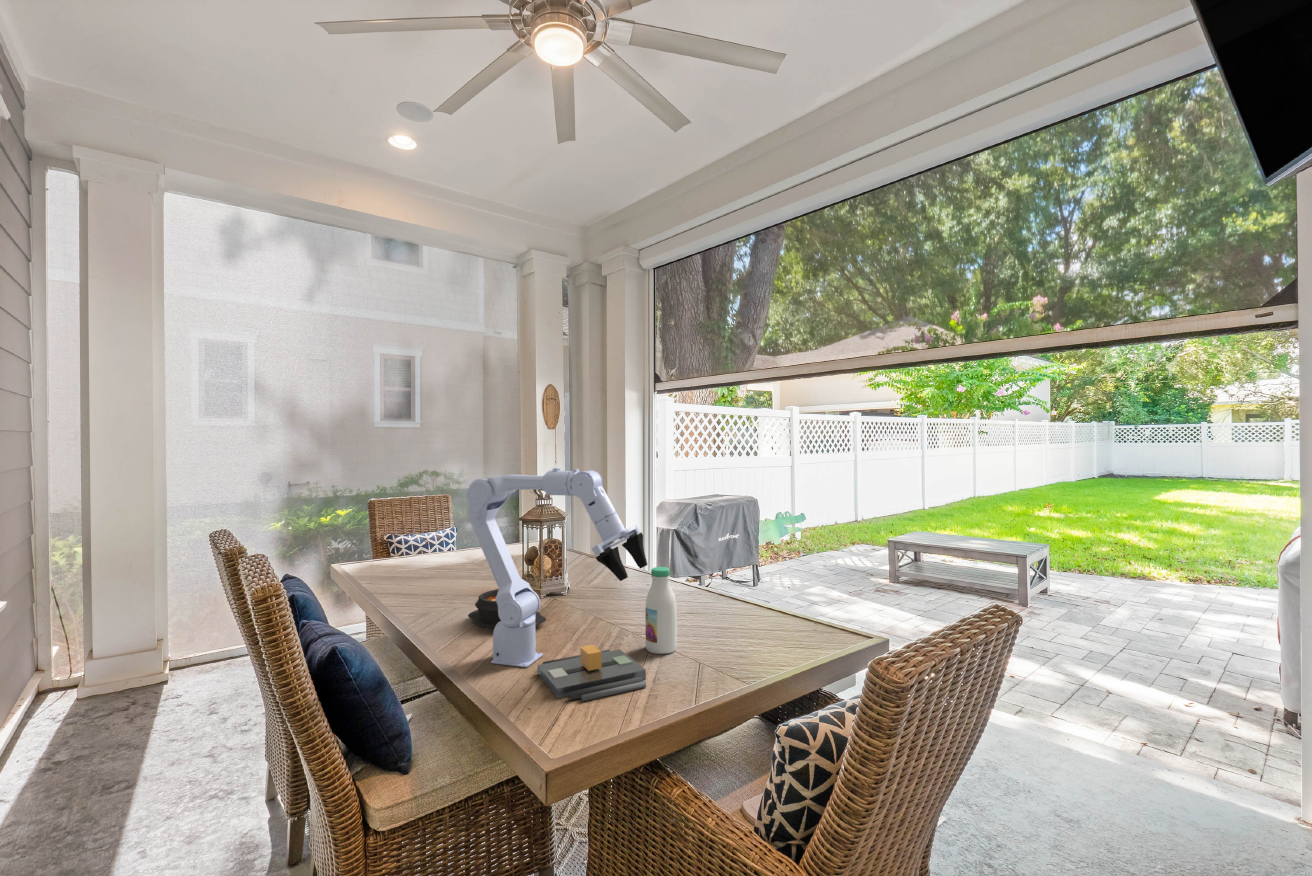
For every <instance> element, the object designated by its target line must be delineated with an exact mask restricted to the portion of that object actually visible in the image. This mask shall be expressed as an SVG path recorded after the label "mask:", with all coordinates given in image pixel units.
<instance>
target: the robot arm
mask: <svg viewBox="0 0 1312 876" xmlns="http://www.w3.org/2000/svg"><path fill="white" fill-rule="evenodd" d="M603 484H604V480H603V477H602V475H601V474H600V472H599V471H596V470H592V469H585V470H584V471H583V470H582V471H580V469H579V468H573V469H572V470H561V468H560V467H554V468H552V470H548V471H547V472H546V473H545V474H544V475H534V474H533V475H531V474H516V473H515V474H514V473H513V474H505V475H504V474H503V475H499V476H493V477H487V478H477V479H475V480H473V481H472V482H471V483H470V485H469V486H468V488H467V490H466V493H465V497H466V500H467V502H468V505H469V506H468V507H469V508H468V509H469V513H468V514H469V521H470V525H471V527H472V529H473V531H474V534H475V537H476V538H477V541H478V543H479V545H480V548H481V550H482V552H483V555H484V556H485V559H486V562H487V565H488V566H489V568H490V571H491V573H492V576H493V578H494V580H495V583H496V585H497V587H498V588H497V589H499V590H498V593H497V596H496V602H497V605H498V615H499V618H500V620H501V621H500V622H498V623H497V625H496V626H495V629H493V632H492V655H493V656H492V660H491V664H495V665H503V666H511V667H520V668H528V667H529V666H531V665H533V663H534V662H536V661H537V660H539V659H540V658H542V657H543V656H544V653H543V652H537V651H536V647H537V646H536V645H537V644H536V643H537V642H536V640H537V639H536V626H535V618H536V613H537V612H539V611H540V608H541V600H540V596H539V595H538V594H537V592H536V591H534V590H533V588H532V587H531V584H530V583H529V582H527V581H526V580H524V579H523V578H521V576H520V574H519V571H518V568H517V567H516V563H515V561H514V560H513V558H512V555H511V552H510V551H509V548H508V546H507V544H506V541H505V539H504V537H503V534H502V532H501V530H500V527H499V525H498V523H497V521H496V517H497V515H498V514H499V513H498V512H499V510H500V509H501V508H502V506H503V505H504V504H505V503H506V501H507V500H509V498H510V496H511V494H513V493H514V494H515V492H516V491H518V490H519V491H520V490H524V491H525V490H526V491H527V490H542V491H544V493H545V494H547V495H548V496H564V497H565V496H566V497H567V496H568V497H569V496H571V497H573V496H574V497H577V498H579V499H580V501H581V502H582V504H583V506H584V508H585V510H586V512H587V513H588V516H589V518H590V520H591V521H592V524H593V525H594V527H595V529H596V531H597V533H598V535H599V537H600V539H601V540H602V542H600V543H598V544H596V545H594V546H593V547H592V548H591V550H592V552H593V554H594V556H595V559H596V561H597V562H598V563H600V564H602V565H604V567H606V568H607V569H608V570H610V572H611V573H612V574H613V575H614V576H615V577H616V579H618V580H619V582H622V581H623V580H625V579H627V578H629V577H628V573H627V571H626V568H625V566H624V564H623V562H622V560H621V559H622V558H621V556H620V552H619V551H620V550H619V547H618V545H619V544H620V543H622V544H621V546H622V547H623V548H624V549H625V550H626V551H627V553H629V555H630V556H631V557H632V560H633V561H634V562H635V564H636V566H637V567H638V569H642V568H644V567H646V566H648V562H647V558H646V553H645V546H644V533H642V531H640V530H639V527H638V526H637V524H635V525H633V526H632V527H628V528H625V526H624V524H623V522H622V521H621V519H620V517H619V516H620V515H618V513H617V511H616V509H615V507H614V505H613V503H612V501H611V499H610V498H609V496H608V494H607V493H606V490H605V489H604V487H603V486H604V485H603ZM617 540H618V541H617ZM615 541H616V542H615ZM624 541H625V542H624ZM623 542H624V543H623ZM615 546H616V547H615Z"/></svg>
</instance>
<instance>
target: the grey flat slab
mask: <svg viewBox="0 0 1312 876" xmlns="http://www.w3.org/2000/svg"><path fill="white" fill-rule="evenodd" d="M601 665H602V668H600V669H595V670H590V671H588V670H587V669H586V668H585V667H584V666H583V665H582V664H581V659H580V657H577V658H572V659H566V660H561V661H556V662H551V663H546V664H543V663H540V664H537V675H538V676H539V677H540V679H541V680H542V681H543V683H544V684H545V685H546V687H547V688H548V689H549V690H550V691H551V693H552V694H553V695H554V697H555V698H556V699H557V700H558V699H561V698H565V697H569V696H568V693H569V692H572V691H577V690H581V689H586V688H591V687H595V686H600V685H604V684H609V683H613V682H618V681H622V680H627V679H632V678H636V677H642V678H643V680H646V679H647V670H646V669H645V667H643V666H642V665H640V664H639V663H638V662H637V661H636V660H634V659H633V658H631V657H630V655H628V654H627V653H626V652H625V651H623V650H622V649H619V648H618V649H614V650H609V651H608V652H603V653H601Z"/></svg>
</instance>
